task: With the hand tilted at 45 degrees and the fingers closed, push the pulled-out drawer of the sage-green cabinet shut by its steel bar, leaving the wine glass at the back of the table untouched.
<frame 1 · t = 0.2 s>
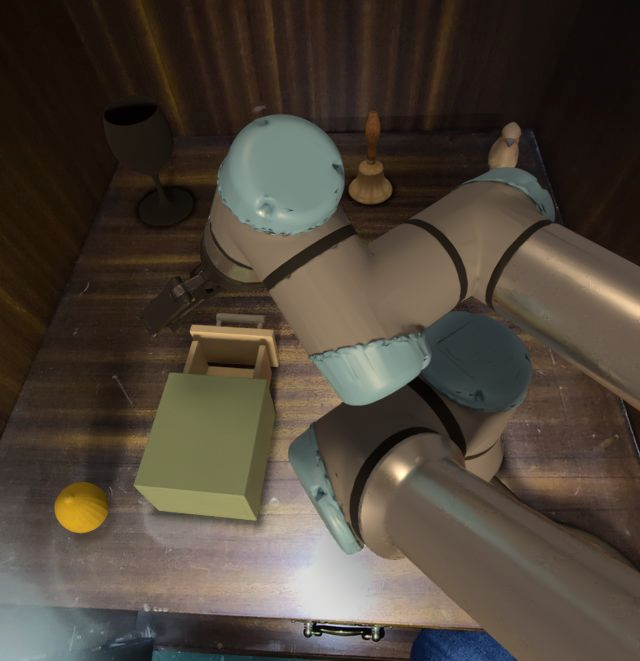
hand: (217, 294, 65), 15 cm above the table, tool tilted 35°, fingers open, 13 cm apart
drawer: (230, 370, 71), point 5 cm above the table, slide at 7.0 cm
lemon: (96, 517, 65), on the table
elephant figurine: (285, 190, 100), on the table
bird: (493, 188, 97), on the table
hand bell: (370, 191, 98), on the table
wine glass: (166, 208, 98), on the table
cabinet: (220, 459, 69), on the table
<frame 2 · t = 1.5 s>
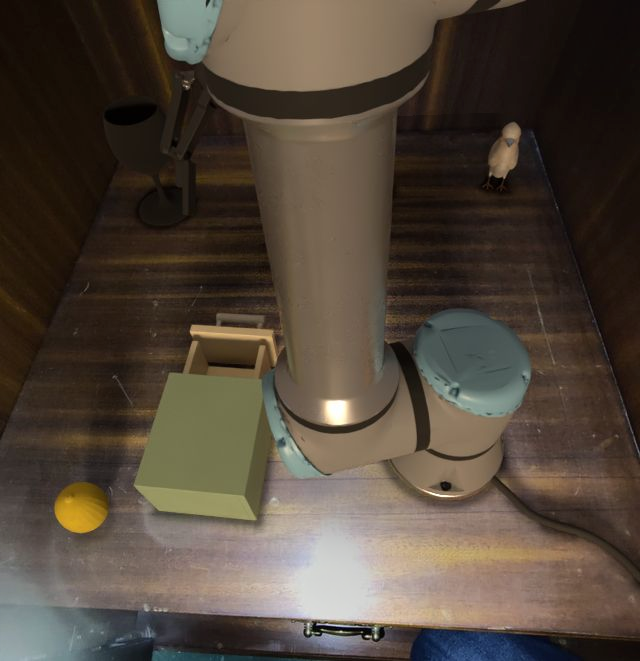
hand: (228, 216, 65), 21 cm above the table, tool tilted 45°, fingers open, 9 cm apart
nothing on the table moved.
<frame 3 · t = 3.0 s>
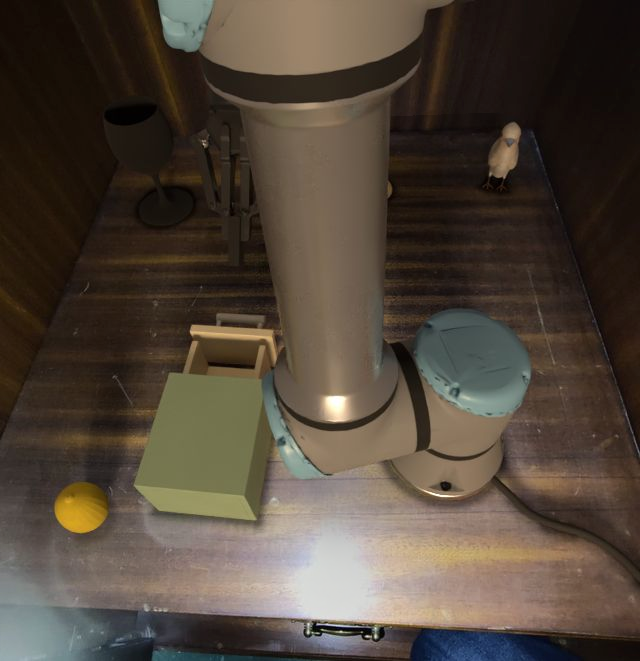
hand: (236, 265, 70), 13 cm above the table, tool tilted 45°, fingers closed
nothing on the table moved.
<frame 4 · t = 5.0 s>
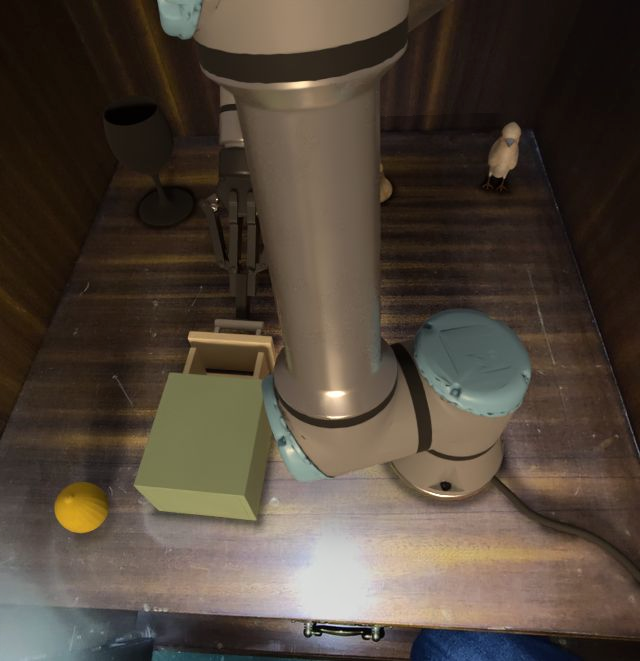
hand: (242, 317, 76), 5 cm above the table, tool tilted 45°, fingers closed
drawer: (228, 377, 70), point 5 cm above the table, slide at 5.9 cm, touching gripper
everything else where it was.
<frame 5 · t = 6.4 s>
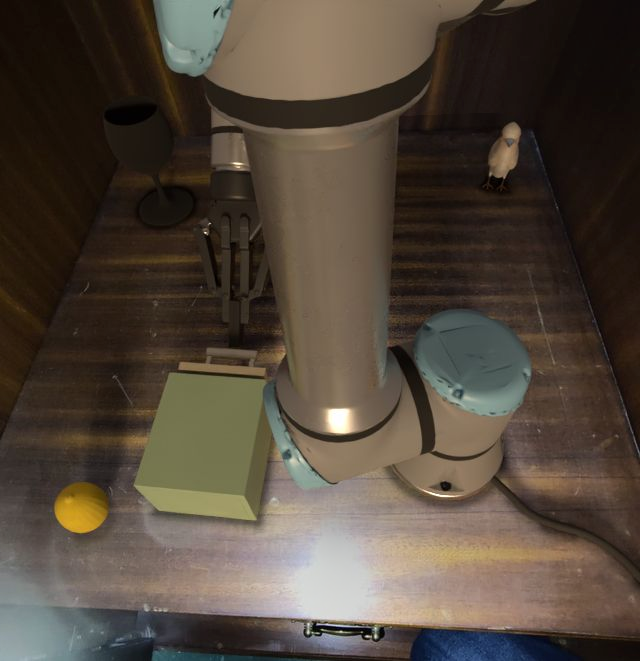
hand: (236, 345, 73), 5 cm above the table, tool tilted 45°, fingers closed
drawer: (220, 410, 67), point 5 cm above the table, slide at 1.0 cm, touching gripper
everything else where it was.
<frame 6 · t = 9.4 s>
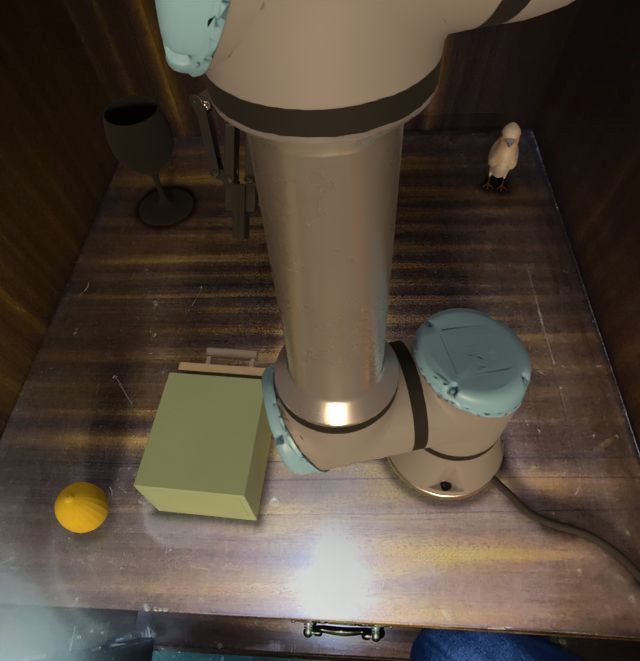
hand: (240, 238, 65), 19 cm above the table, tool tilted 45°, fingers closed
drawer: (220, 410, 67), point 5 cm above the table, slide at 1.0 cm
everything else where it was.
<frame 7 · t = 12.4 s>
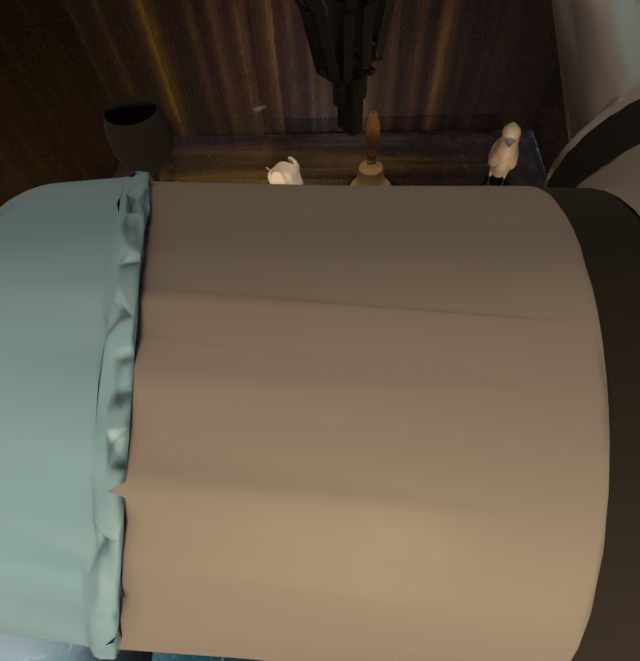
hand: (350, 128, 60), 29 cm above the table, tool pointing down, fingers closed
nothing on the table moved.
at the end: drawer slide at 1.0 cm; wine glass moved 0.2 cm from its start; wine glass tilted 0° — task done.
